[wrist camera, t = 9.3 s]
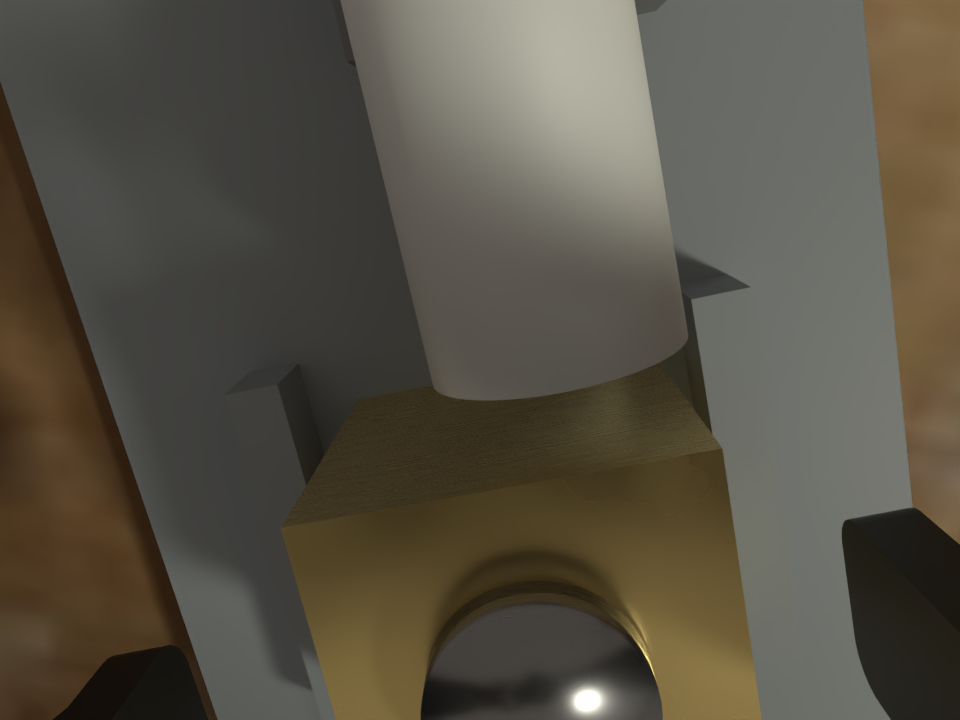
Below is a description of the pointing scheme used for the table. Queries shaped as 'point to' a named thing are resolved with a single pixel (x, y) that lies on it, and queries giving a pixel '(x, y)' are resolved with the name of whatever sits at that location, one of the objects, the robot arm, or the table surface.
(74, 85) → the twin roller base
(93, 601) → the table surface
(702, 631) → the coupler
